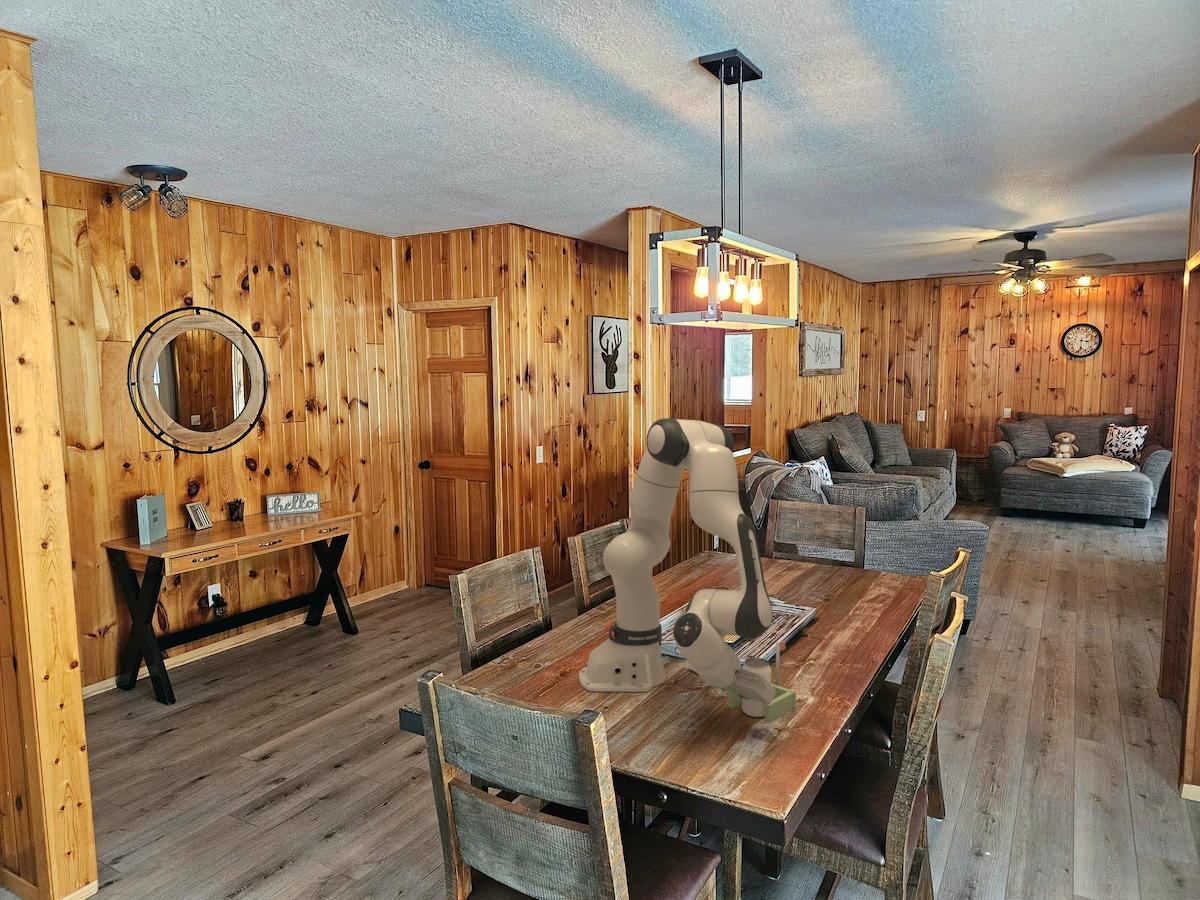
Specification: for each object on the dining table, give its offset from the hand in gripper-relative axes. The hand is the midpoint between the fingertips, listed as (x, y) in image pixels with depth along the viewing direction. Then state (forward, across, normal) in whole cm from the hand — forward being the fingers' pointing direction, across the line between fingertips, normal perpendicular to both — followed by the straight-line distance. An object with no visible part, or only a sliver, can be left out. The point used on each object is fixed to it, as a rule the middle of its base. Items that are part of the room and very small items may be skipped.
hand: (745, 695), depth 179 cm
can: (+6, 0, +1) cm, 6 cm away
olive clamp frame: (+9, 0, -3) cm, 10 cm away
